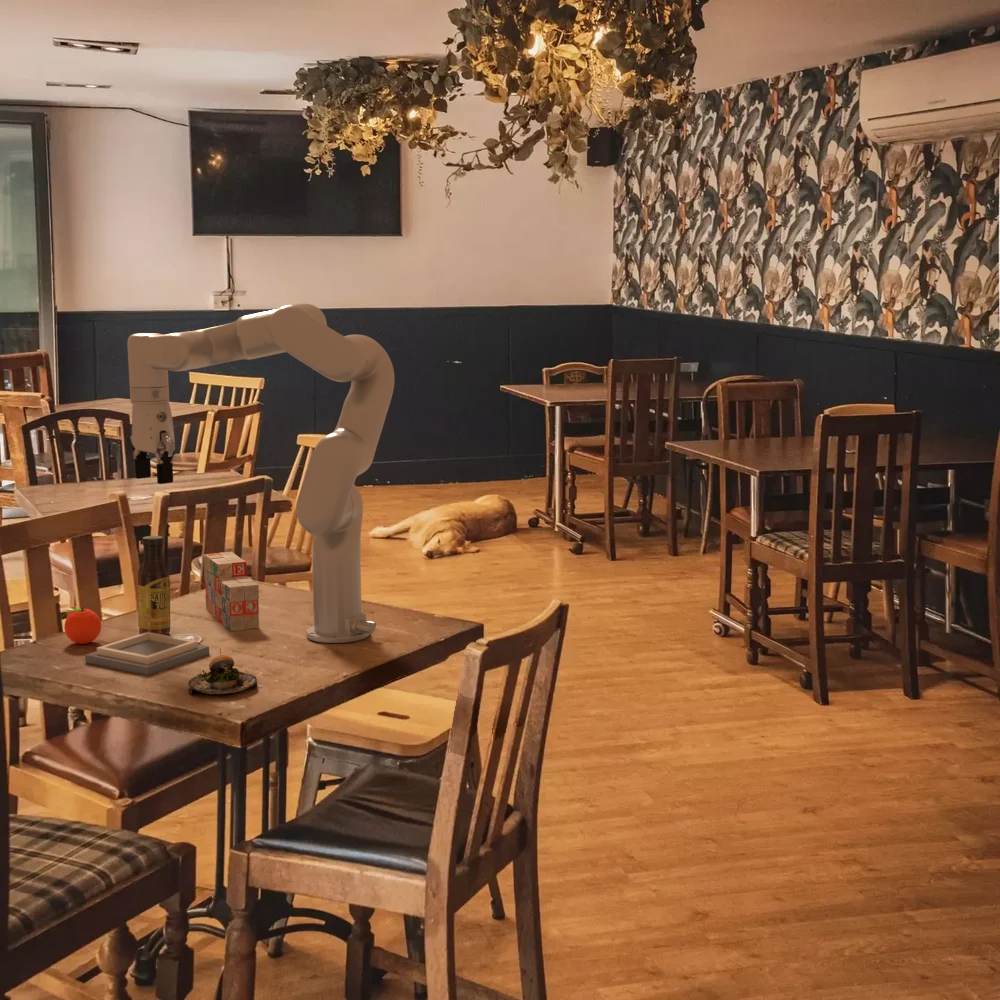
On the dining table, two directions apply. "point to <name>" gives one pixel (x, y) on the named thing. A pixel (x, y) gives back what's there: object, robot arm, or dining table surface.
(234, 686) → the burger
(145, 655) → the slate coaster board
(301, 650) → the dining table surface
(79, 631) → the clementine
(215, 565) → the stack of blocks
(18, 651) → the dining table surface
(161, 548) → the sauce bottle
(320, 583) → the robot arm
